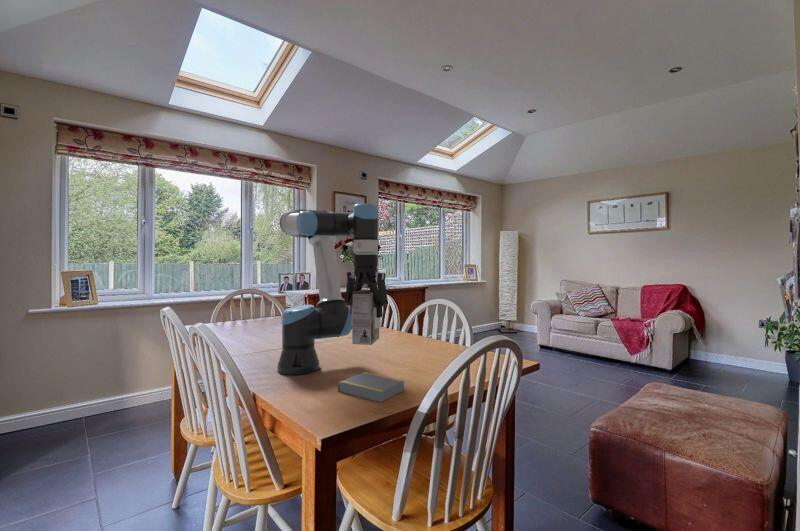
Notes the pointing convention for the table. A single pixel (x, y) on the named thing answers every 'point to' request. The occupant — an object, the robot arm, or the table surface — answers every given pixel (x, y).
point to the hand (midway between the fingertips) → (366, 326)
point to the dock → (371, 386)
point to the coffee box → (363, 318)
